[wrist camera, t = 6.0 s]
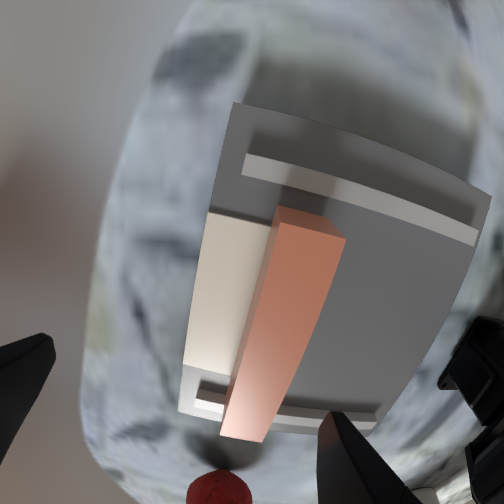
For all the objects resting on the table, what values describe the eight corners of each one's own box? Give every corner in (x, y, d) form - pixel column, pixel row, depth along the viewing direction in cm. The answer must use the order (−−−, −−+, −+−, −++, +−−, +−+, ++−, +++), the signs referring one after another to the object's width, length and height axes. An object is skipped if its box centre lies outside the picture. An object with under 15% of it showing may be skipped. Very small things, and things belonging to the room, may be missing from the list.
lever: (327, 217, 11) (346, 239, 8) (263, 400, 14) (261, 442, 12) (276, 204, 11) (280, 222, 8) (226, 393, 14) (219, 435, 11)
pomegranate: (211, 448, 21) (197, 526, 13) (266, 467, 22) (263, 539, 14) (184, 467, 23) (168, 532, 15) (233, 485, 23) (226, 547, 16)
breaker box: (465, 188, 13) (501, 199, 10) (361, 412, 19) (370, 445, 15) (239, 111, 13) (231, 98, 10) (186, 385, 18) (174, 420, 15)
